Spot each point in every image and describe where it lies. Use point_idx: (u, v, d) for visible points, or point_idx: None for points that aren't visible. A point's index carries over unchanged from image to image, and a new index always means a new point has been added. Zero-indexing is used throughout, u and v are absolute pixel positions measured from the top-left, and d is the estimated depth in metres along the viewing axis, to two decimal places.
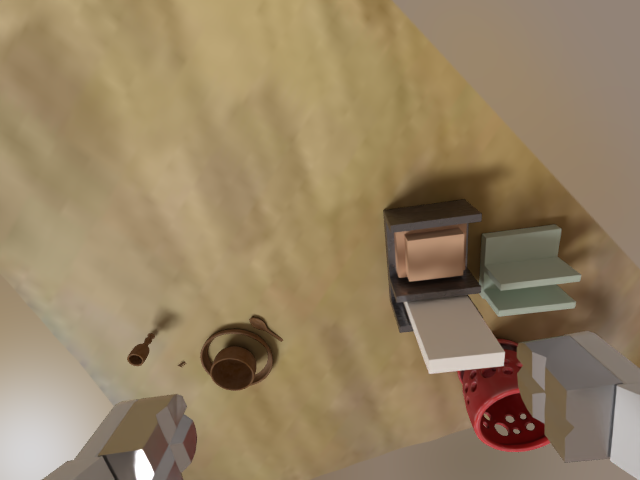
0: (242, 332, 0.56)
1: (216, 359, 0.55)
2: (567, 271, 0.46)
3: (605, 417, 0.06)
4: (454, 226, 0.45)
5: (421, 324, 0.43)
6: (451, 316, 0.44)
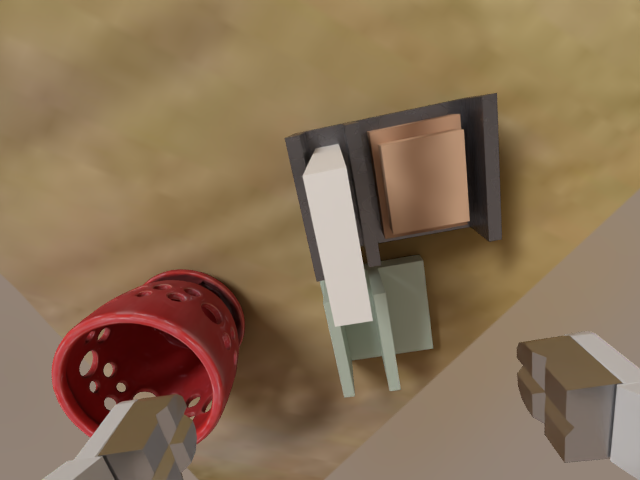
0: None
1: None
2: None
3: (605, 417, 0.06)
4: None
5: None
6: None
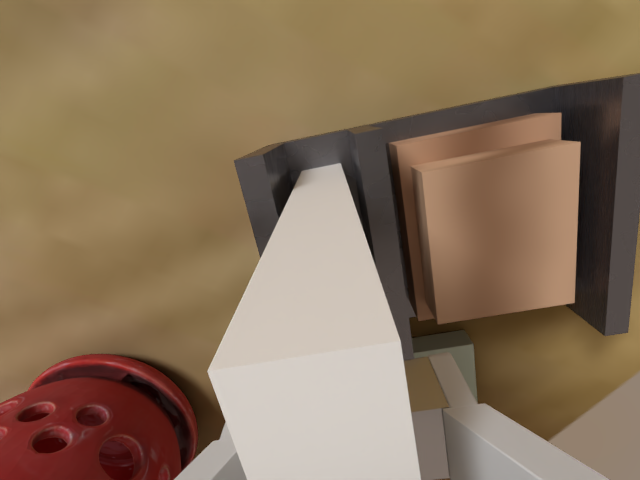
0: None
1: None
2: None
3: (438, 439, 0.07)
4: None
5: None
6: None
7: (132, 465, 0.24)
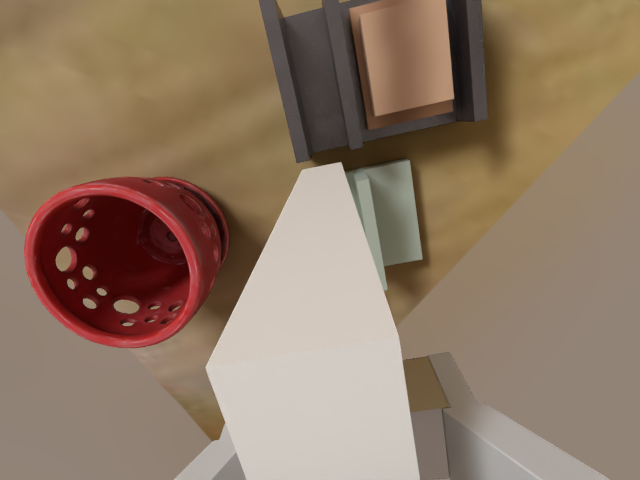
0: None
1: None
2: None
3: (438, 439, 0.07)
4: None
5: None
6: None
7: (185, 263, 0.36)
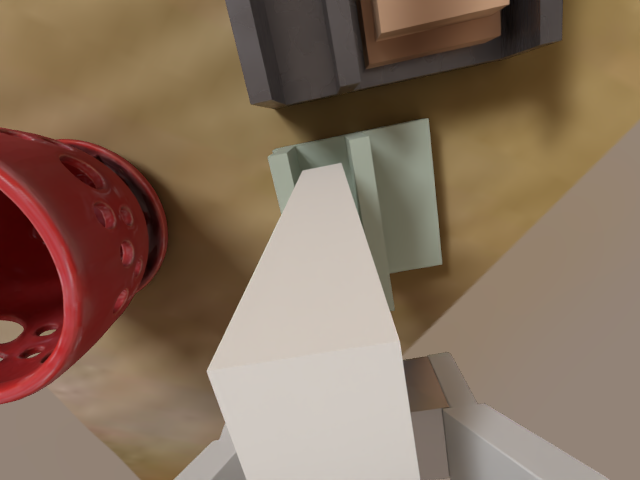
0: None
1: None
2: None
3: (438, 439, 0.07)
4: None
5: None
6: None
7: None
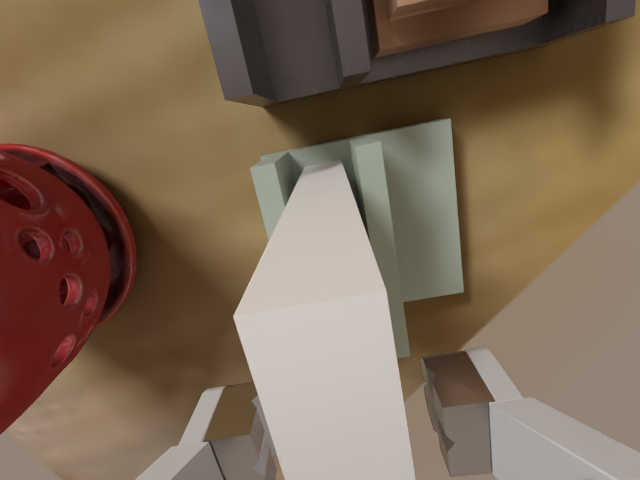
0: None
1: None
2: None
3: (482, 433, 0.07)
4: None
5: None
6: None
7: (62, 294, 0.21)
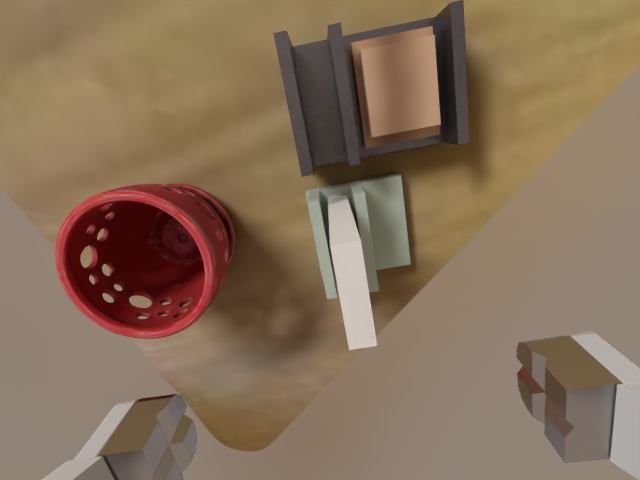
0: None
1: None
2: None
3: (605, 417, 0.06)
4: None
5: None
6: None
7: (193, 263, 0.39)
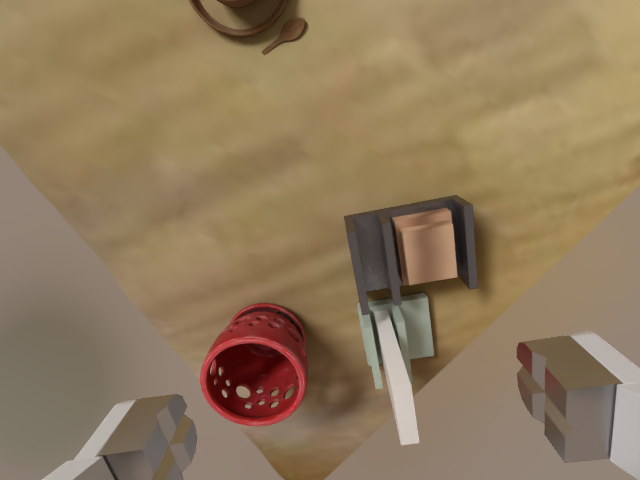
0: (286, 0, 0.39)
1: None
2: None
3: (605, 417, 0.06)
4: None
5: None
6: None
7: (273, 356, 0.53)
